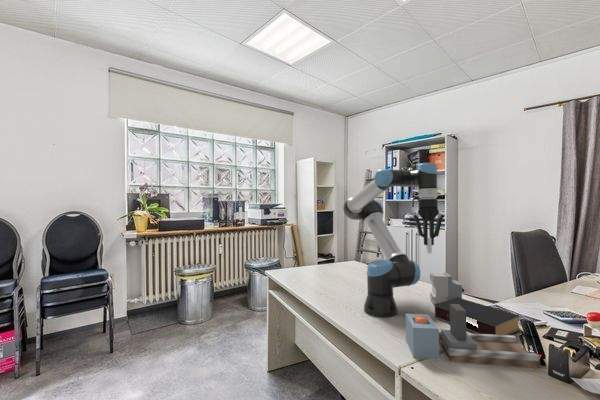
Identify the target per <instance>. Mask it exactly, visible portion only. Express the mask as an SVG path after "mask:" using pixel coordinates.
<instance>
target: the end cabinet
mask: <svg viewBox="0 0 600 400" xmlns="http://www.w3.org/2000/svg"><path fill="white" fill-rule="evenodd" d="M415 316H424V317H426V318H427V324H418V323H415ZM439 330H440V329H439V327H438V326H437V324H436V323H435V322H434V320H433V319H432V318H431V316H430V315H429V314H422V313H421V314H420V313H419V314H418V313H405V341H406V344H407V346H408V348H409V351H410V353H411V355H412V357H413V358H414V359H427V360H428V359H429V360H440V346H439V332H440V331H439Z"/></svg>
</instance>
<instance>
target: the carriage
mask: <svg viewBox="0 0 600 400" xmlns="http://www.w3.org/2000/svg"><path fill="white" fill-rule="evenodd" d="M449 327H450V329H441V330H440V332H441V338H442V339H443V341H444V342H445V344H446V345H447V347H448V348H458V349H474V350H477V343H476V342H475V341H474V340H473V339H472V338H471V337H470V336H469V335H468V332H467V330H466V310H465V309H464V308H462V307H461V306H460V305H459V304H450V323H449Z"/></svg>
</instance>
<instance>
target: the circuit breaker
mask: <svg viewBox="0 0 600 400" xmlns="http://www.w3.org/2000/svg"><path fill="white" fill-rule="evenodd" d="M429 281H430V283H431V291H430V292H429V297H430V303H431V304H432V305H433V307H435V306H434V305H435V304H437V303H441V302H444V301H448V300H451V299H454V298H461V299H463V293H464V292H465V289H464V288H463V285H462V283H460V282H459V281H458V280H453V279H452V275H450V274H449V273H448V272H437V271H436V272H435V271H434V272H433V271H432V272H431V271H430V274H429Z"/></svg>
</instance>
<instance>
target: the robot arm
mask: <svg viewBox="0 0 600 400" xmlns="http://www.w3.org/2000/svg"><path fill="white" fill-rule="evenodd" d="M373 177H374V179H373V180H372V181H371V182H369V183H368V184H367V185H366V186H364V188H362V189H360V191H359V192H358V193H356V194H355V195H354V196H351V197H348V198H347V200H346V201H345V202H344V204H343V206H342V207H343V209H342V210H343V213H344V215H345V216H346V217H347V218H348V219H350V220H354V221H362V222H363V224H364V226H366V227H367V226H368V228H369V231H370V232H371V233H372V236H373V238H374V239H375V241H376V243H377V245H378V247H379V248H380V249H379V250H380V251H381V253H382V254H383V256H384V258H385V259H376V260H373V261H371V262H369V263H368V264H367V268H366V269H367V270H366V277H367V279H366V280H367V295H366V298H365V301H364V305H363V310H364V312H365V313H366V314H368V316H369V315H370V316H373V317H375V318H376V317H379V318H391V317H394V316H396V315H398V306H397V304H396V301H395V297H394V288H402V287H410V286H413V285H416V284H417V283H418V282H419V281H420V279H421V268H420V265H419V263H417V261H415V260H412V259H409V257H408V256H407V254H405V253H403V252H402V251H401V249H400V247H399V246H398V244H397V243H396V240H395V238H394V237H393V235H392V234H391V232H390V230H389V229H388V227H387V225H386V223H385V221H384V220H383V218H384V213H385V212H384V206H383V205H382V203H381V202H380V201H379V200H378V199H377V198H378V197H380V196H381V195H382V194H384V193H385V192H386V191H388V190H389V189H390V188H391V187H404V188H405V187H406V188H409V187H417V186H418V189H417V190H418V199H419V200H418V210H417V212H416V213H414V214H412V217H413V219H414V221H415V225H416V229H417V233H418V236H419V237H422V238H423V245H424V246H425V252H426V253H427V254H432V247H433V246H434V244H435V238H436V237H439V235H440V231H441V226H442V223H443V219H444V218H445V214H443V213H440V211H439V208H438V206H439V203H438V202H439V199H437V198H438V167H437V164H436V163H435V162H422V163H419V164H418V166H417V168H416V169H387V168H385V169H378V170H376V172H375V174H374V176H373ZM420 218H421V219H422V225H421V222H420ZM436 218H437V219H436ZM435 219H436V224H435ZM428 223H429V224H428ZM428 225H429V228H428ZM434 225H435V226H434ZM422 227H423V228H422ZM428 229H429V230H428ZM428 232H429V233H428ZM428 236H429V237H428Z"/></svg>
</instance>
